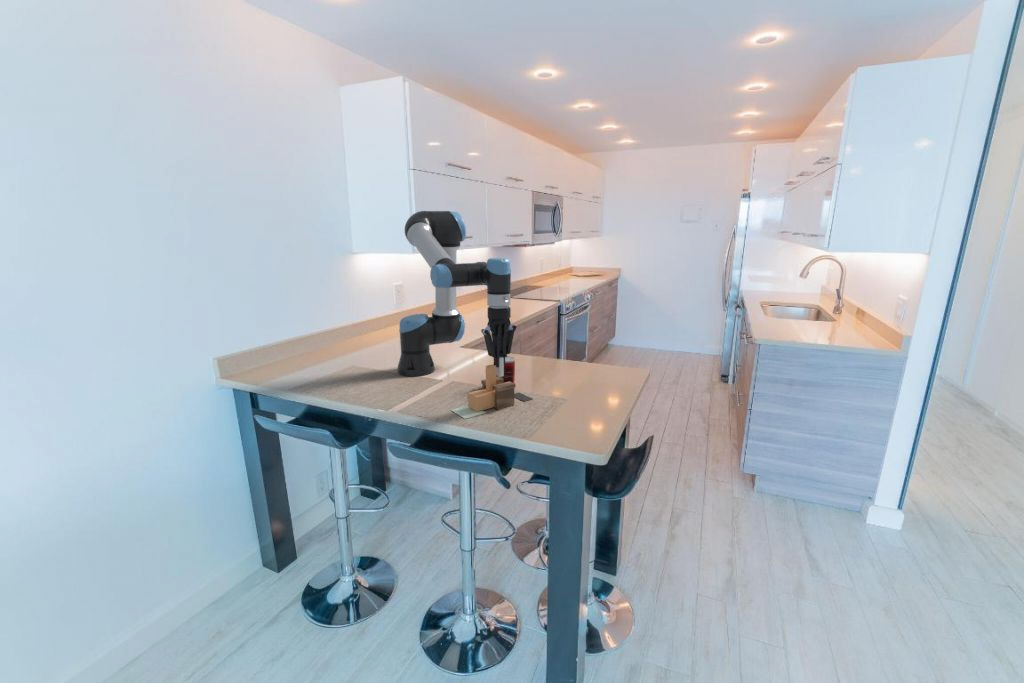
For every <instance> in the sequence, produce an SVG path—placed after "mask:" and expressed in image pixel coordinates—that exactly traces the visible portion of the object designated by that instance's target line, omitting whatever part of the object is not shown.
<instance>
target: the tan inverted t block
mask: <svg viewBox="0 0 1024 683" xmlns="http://www.w3.org/2000/svg"><path fill="white" fill-rule="evenodd" d="M485 379H486V389H479V390H474V391H470V392H467V401H468V402H467V403H468V407H469V408H471V409H473V410H474V411H476V412H477V411H481V410H483V411H485V410H488V409H492V408H495V390H494V389H493V385H496V365H494V363H493V364H489V365H485Z"/></svg>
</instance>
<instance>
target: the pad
mask: <svg viewBox="0 0 1024 683" xmlns="http://www.w3.org/2000/svg"><path fill="white" fill-rule="evenodd" d="M450 411H451V412H453V413H454V414H456V415H458V416H459V417H460V418H461V417H462V418H463V419H464V420H467V419H469V418H473V417H478V416H482V415H484V414H487V412H486V411H485V410H481V411H477V412H476V411H474V410H473V409H471V408H469V407H468V405H467V404H466V405H464V406H460V407H457V408H456V407H455V408H451V409H450Z"/></svg>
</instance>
